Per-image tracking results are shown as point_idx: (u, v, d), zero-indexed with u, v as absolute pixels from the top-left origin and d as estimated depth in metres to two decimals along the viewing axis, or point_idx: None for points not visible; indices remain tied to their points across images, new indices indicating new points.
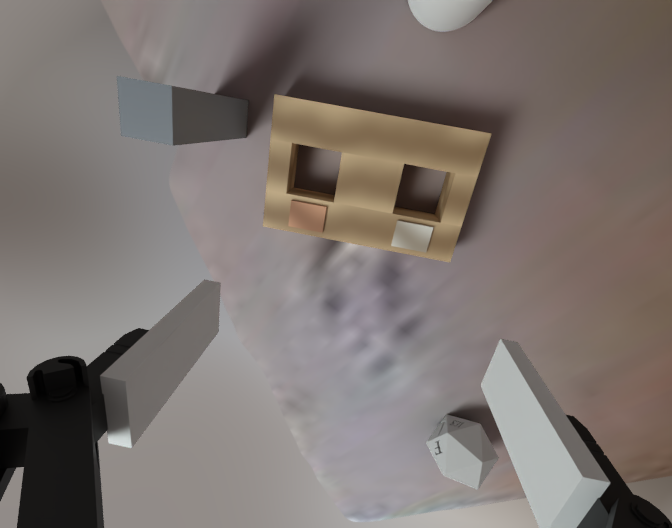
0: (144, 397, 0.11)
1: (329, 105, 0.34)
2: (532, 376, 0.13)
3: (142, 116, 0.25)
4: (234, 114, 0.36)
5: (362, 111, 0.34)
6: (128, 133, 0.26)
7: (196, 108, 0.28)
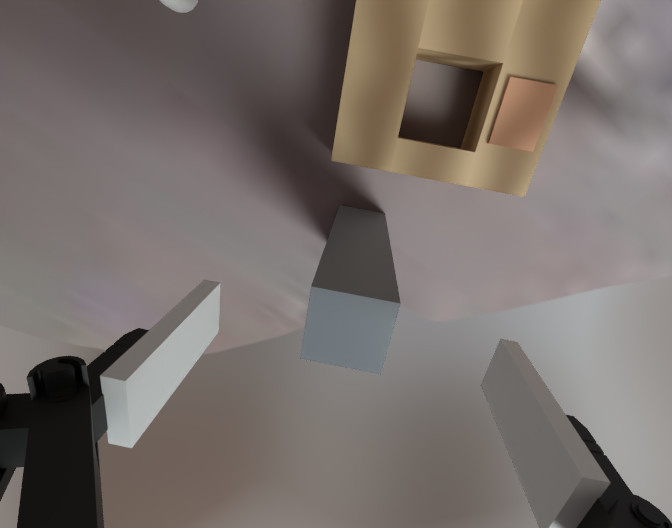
0: (144, 397, 0.11)
1: (346, 72, 0.22)
2: (532, 376, 0.13)
3: (353, 338, 0.16)
4: (355, 220, 0.26)
5: (356, 10, 0.21)
6: (378, 364, 0.16)
7: (346, 260, 0.18)
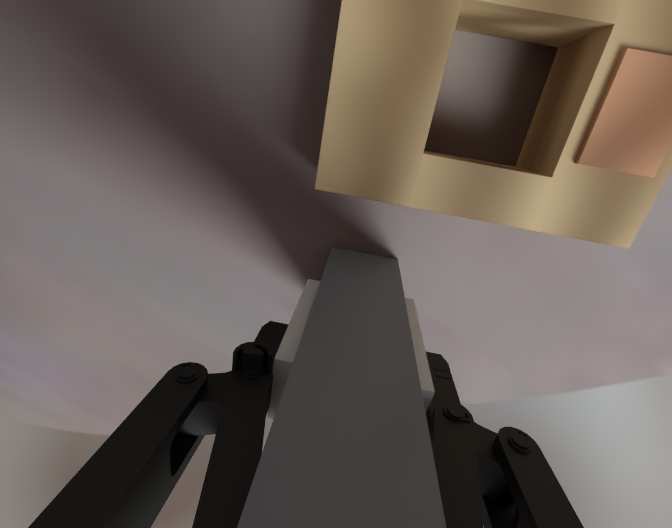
0: None
1: (338, 43, 0.13)
2: (411, 323, 0.15)
3: None
4: (354, 278, 0.17)
5: None
6: None
7: (330, 406, 0.09)
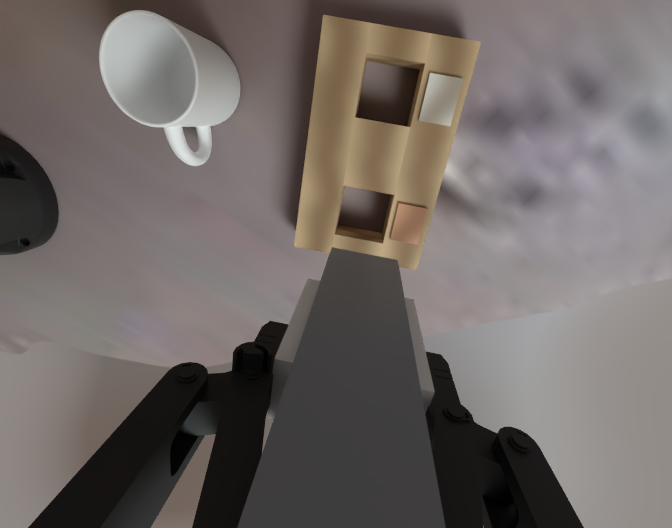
0: None
1: (301, 197, 0.36)
2: (411, 323, 0.15)
3: None
4: (354, 279, 0.17)
5: (305, 165, 0.35)
6: None
7: (330, 407, 0.09)
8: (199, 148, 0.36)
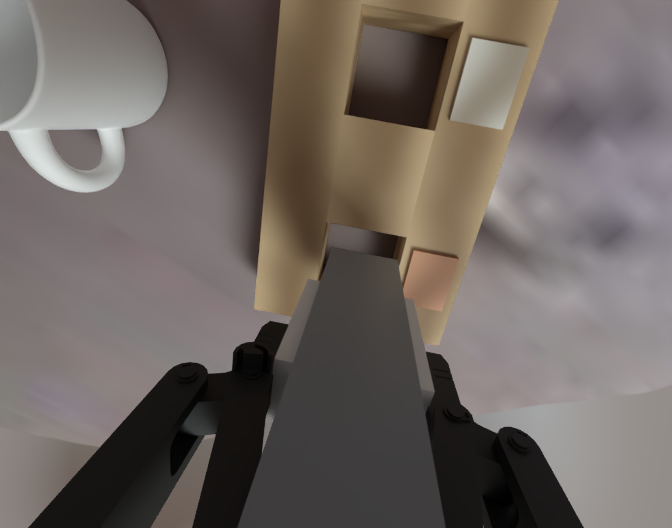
0: None
1: (261, 238, 0.24)
2: (411, 323, 0.15)
3: None
4: (354, 279, 0.17)
5: (266, 190, 0.22)
6: None
7: (330, 407, 0.09)
8: (101, 163, 0.23)
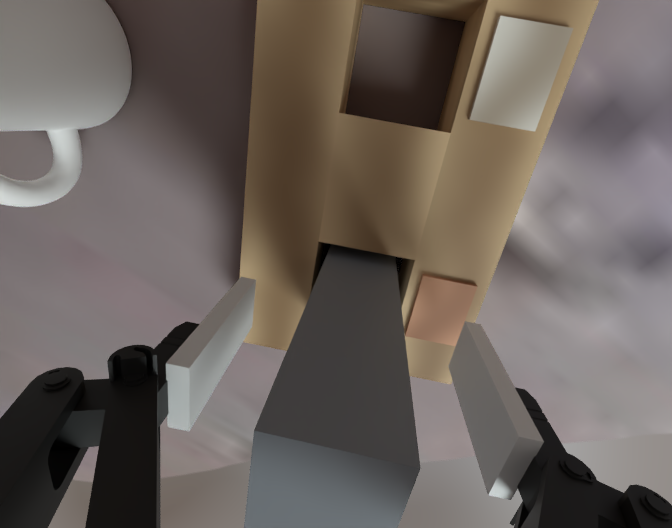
0: (200, 384, 0.12)
1: (242, 260, 0.20)
2: (489, 353, 0.14)
3: (334, 512, 0.09)
4: (354, 260, 0.19)
5: (246, 203, 0.19)
6: None
7: (330, 349, 0.12)
8: (50, 171, 0.19)
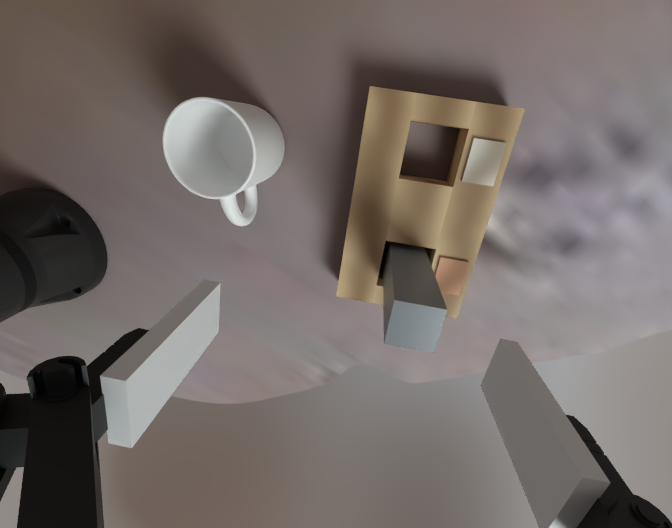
0: (144, 397, 0.11)
1: (344, 251, 0.38)
2: (532, 376, 0.13)
3: (418, 330, 0.27)
4: (404, 250, 0.37)
5: (349, 221, 0.36)
6: (432, 346, 0.27)
7: (408, 282, 0.29)
8: (246, 207, 0.37)
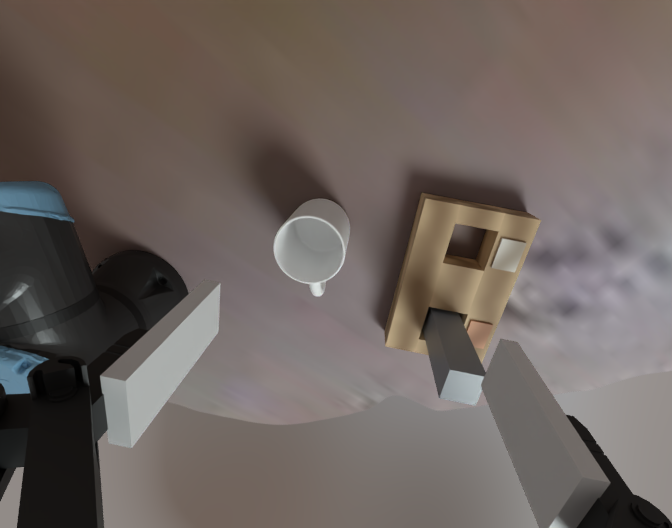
0: (144, 397, 0.11)
1: (395, 313, 0.48)
2: (532, 376, 0.13)
3: (465, 390, 0.37)
4: (443, 314, 0.47)
5: (401, 292, 0.47)
6: (474, 401, 0.37)
7: (455, 350, 0.40)
8: None
